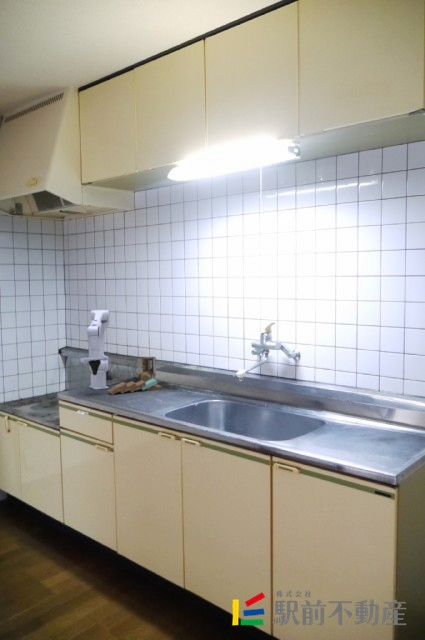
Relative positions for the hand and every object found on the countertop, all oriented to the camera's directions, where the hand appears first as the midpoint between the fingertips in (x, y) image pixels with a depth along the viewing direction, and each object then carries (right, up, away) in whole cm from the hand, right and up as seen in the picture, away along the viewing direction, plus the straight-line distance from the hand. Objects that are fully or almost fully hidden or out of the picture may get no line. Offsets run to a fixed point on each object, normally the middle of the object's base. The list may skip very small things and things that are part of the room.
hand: (94, 374), depth 266 cm
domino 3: (+17, -9, +7) cm, 20 cm away
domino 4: (+23, -8, +11) cm, 26 cm away
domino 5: (+25, -9, +13) cm, 29 cm away
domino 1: (+8, -9, +1) cm, 12 cm away
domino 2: (+12, -9, +4) cm, 16 cm away
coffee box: (+24, -9, +23) cm, 35 cm away
